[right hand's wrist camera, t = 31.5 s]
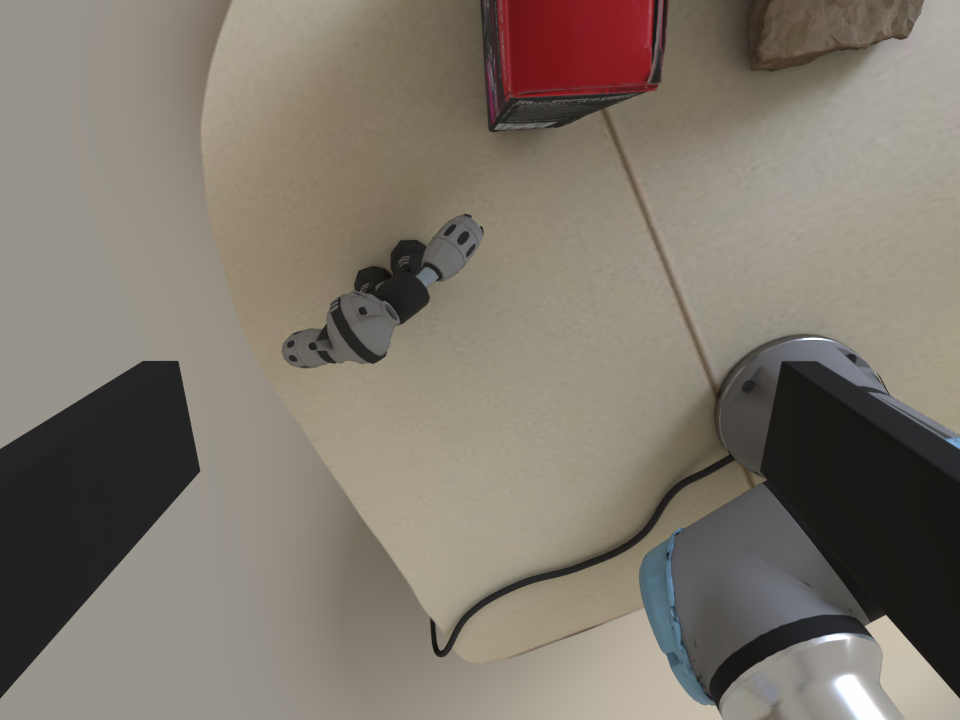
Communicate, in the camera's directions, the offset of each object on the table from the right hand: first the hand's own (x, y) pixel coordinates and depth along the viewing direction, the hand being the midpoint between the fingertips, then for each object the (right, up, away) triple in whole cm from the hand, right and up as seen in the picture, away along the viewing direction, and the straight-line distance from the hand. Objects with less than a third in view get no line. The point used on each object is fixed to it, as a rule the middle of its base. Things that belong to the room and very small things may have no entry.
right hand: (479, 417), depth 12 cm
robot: (-8, +9, +40) cm, 42 cm away
